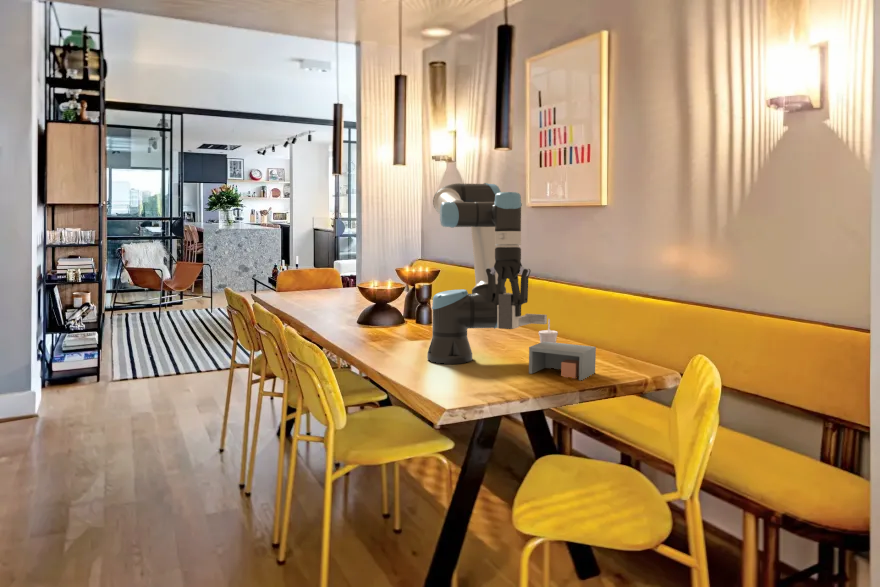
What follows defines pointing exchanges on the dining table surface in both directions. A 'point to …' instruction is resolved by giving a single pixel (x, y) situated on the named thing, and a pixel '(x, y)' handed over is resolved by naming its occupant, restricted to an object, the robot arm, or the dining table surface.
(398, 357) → the dining table surface
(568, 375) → the cube
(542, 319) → the grey block with rod
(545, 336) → the smoothie
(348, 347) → the dining table surface
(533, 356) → the cubby
